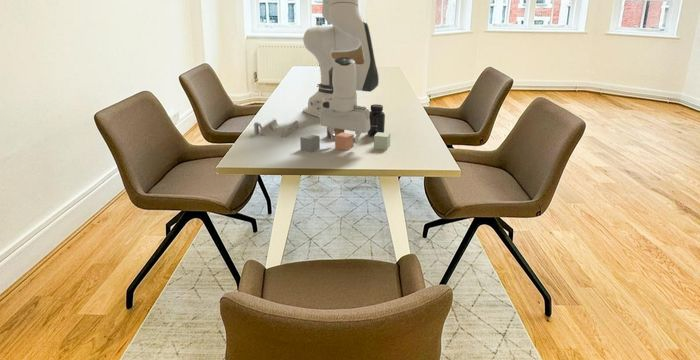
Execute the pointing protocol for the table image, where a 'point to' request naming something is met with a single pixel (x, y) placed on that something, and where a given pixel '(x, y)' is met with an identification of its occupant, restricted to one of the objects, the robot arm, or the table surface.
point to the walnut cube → (337, 131)
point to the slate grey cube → (310, 142)
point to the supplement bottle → (376, 120)
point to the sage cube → (381, 140)
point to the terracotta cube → (344, 141)
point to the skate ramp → (273, 126)
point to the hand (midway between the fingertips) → (344, 140)
